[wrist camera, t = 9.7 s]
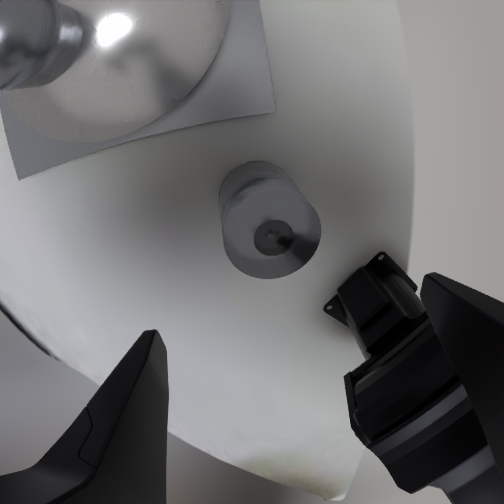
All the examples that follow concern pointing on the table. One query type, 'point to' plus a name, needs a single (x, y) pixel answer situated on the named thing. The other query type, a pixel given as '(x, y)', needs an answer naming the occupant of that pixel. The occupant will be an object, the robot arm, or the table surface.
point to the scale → (186, 111)
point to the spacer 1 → (36, 42)
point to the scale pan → (125, 67)
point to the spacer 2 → (266, 221)
